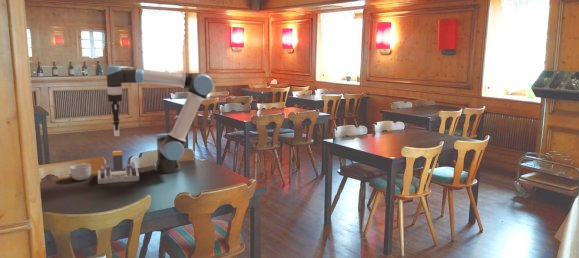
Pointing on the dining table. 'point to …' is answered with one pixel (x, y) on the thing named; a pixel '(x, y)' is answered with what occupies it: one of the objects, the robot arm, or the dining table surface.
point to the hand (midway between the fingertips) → (116, 134)
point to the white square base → (131, 169)
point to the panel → (117, 175)
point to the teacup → (81, 171)
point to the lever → (117, 161)
